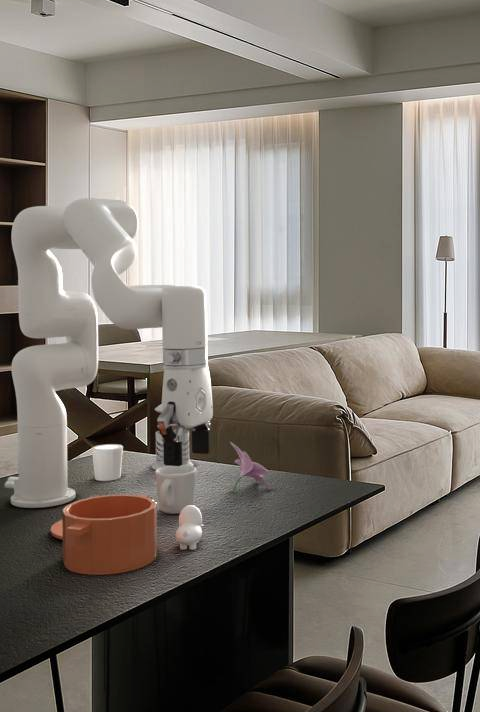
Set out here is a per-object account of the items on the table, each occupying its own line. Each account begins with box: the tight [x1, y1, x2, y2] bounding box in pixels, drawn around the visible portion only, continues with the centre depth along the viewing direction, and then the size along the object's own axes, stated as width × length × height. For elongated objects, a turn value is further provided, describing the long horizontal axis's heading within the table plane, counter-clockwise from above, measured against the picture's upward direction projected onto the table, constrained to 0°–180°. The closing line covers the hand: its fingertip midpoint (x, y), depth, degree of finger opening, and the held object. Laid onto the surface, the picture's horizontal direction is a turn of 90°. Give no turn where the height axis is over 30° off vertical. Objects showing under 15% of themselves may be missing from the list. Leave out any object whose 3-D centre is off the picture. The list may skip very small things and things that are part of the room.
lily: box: [229, 441, 271, 493], centre depth 181 cm, size 12×12×10 cm
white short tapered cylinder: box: [91, 443, 124, 482], centre depth 193 cm, size 7×7×7 cm
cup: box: [154, 465, 198, 515], centre depth 165 cm, size 11×8×8 cm
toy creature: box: [175, 505, 205, 551], centre depth 146 cm, size 5×8×6 cm, turn 0°
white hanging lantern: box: [151, 403, 194, 471], centre depth 204 cm, size 10×12×25 cm
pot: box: [61, 494, 158, 576], centre depth 139 cm, size 15×20×8 cm
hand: (187, 459), depth 145 cm, fingers open, 9 cm apart
